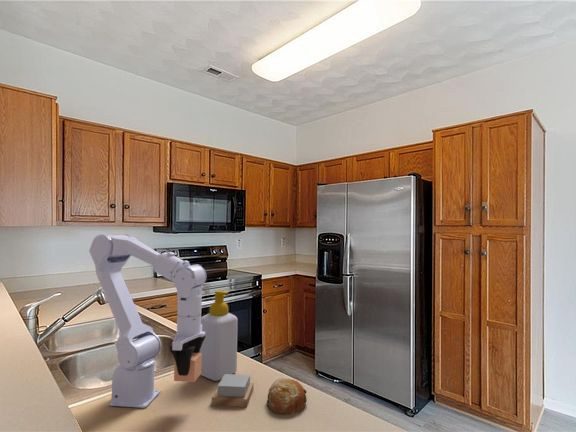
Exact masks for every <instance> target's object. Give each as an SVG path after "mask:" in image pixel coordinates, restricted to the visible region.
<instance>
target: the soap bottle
mask: <svg viewBox="0 0 576 432" xmlns="http://www.w3.org/2000/svg"><path fill="white" fill-rule="evenodd" d="M214 292H215V293H214V302H213V303H211V304H210V306H209V313H207V314H205V315H203V316H201V324H203V326H202V331H203V332H205V339H204V341H203V343H202V346H201V349H200V352H199V353H202V371H201V374H200V376H202V377H204V378H206V379H209V380H211V381H213V382H218V381H219V382H220V381H221V380H222V378H223V376H224V375H225V374H235V373H237V370H238V369H237V368H238V367H237V365H238V364H237V362H238V328H239V327H238V324H239V323H238V321H239V320H238V317H237V316H236V315H235V314H233V313H231V312H229V306H228V303H226V302H224V301H225V298H224V296H229V291H226V290H221V289H220V290H215V291H214Z"/></svg>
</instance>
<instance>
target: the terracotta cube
mask: <svg viewBox="0 0 576 432" xmlns="http://www.w3.org/2000/svg"><path fill="white" fill-rule="evenodd" d="M173 367H174V370H173V371H174V372H173V381H174V382H188V383H195V382H196V381H197V379H198V378H199V377H200V376H201V375H200V374H201V371H202V353H192V357H191V361H190V368H189V372H188V375H187V376H182V375H179V374H178V370H177V366H176V362H175V361H174V366H173Z"/></svg>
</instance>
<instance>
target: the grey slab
mask: <svg viewBox="0 0 576 432" xmlns="http://www.w3.org/2000/svg"><path fill="white" fill-rule="evenodd" d="M250 383H251V374H237V373H236V374H235V373H234V374H225V375H224V376H223V378H222V379H221V380H219V383H218V384H217V388H218V396H231V397H245V395H246V393H247V390H248V388H249V385H250Z"/></svg>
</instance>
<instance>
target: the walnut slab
mask: <svg viewBox="0 0 576 432" xmlns="http://www.w3.org/2000/svg"><path fill="white" fill-rule="evenodd" d="M254 384H255V383H254V382H250V385H249V388H248V390H247V393H246V395H245V397H231V396H218V387H217V388H216V389H215V392H214V393H213V395H212V396H211V406H220V407H224V406H225V407H236V406H239V407H240V406H241V407H240V408H247V407H248V405H249V404H250V403H249V402H250V401H251V400H250V399H251V398H252V394H253V392H254V386H255V385H254ZM239 407H238V408H239Z"/></svg>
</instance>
